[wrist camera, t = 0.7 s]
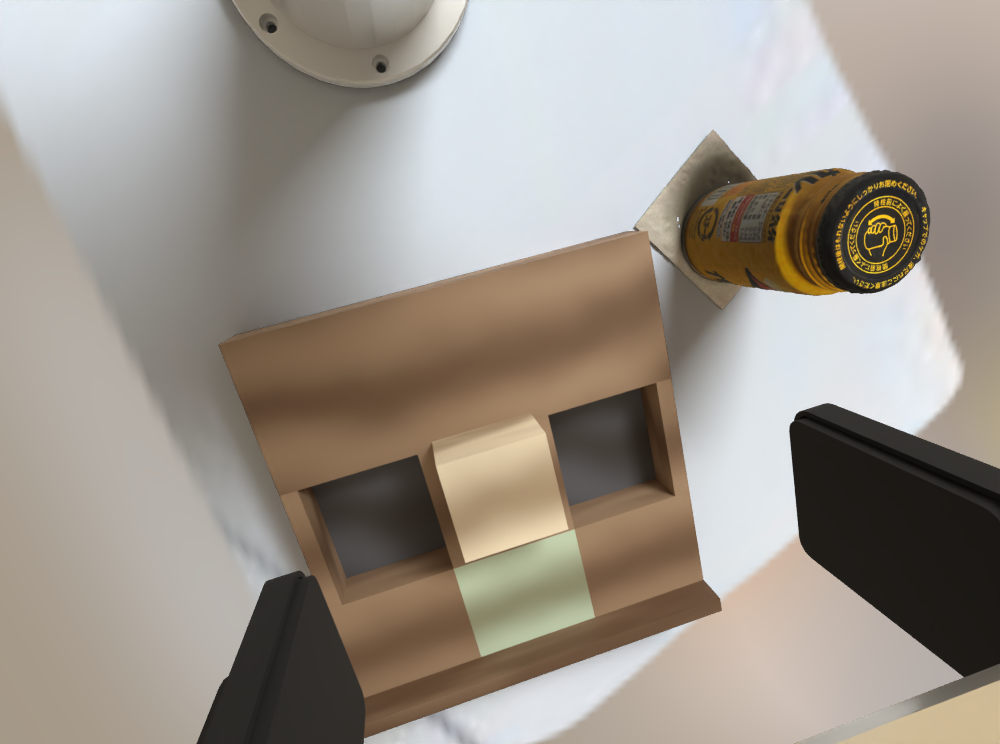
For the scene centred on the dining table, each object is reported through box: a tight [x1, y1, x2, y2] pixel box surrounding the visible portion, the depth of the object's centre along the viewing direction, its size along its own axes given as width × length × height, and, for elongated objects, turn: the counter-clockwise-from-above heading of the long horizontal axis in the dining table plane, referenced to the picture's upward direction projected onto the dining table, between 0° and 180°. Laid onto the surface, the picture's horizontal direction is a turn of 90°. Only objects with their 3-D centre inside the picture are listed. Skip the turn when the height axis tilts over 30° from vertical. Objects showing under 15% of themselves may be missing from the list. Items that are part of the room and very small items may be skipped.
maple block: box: [432, 413, 568, 563], centre depth 30 cm, size 6×6×4 cm
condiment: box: [635, 130, 930, 310], centre depth 28 cm, size 7×8×12 cm
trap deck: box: [219, 231, 722, 738], centre depth 33 cm, size 25×24×5 cm
